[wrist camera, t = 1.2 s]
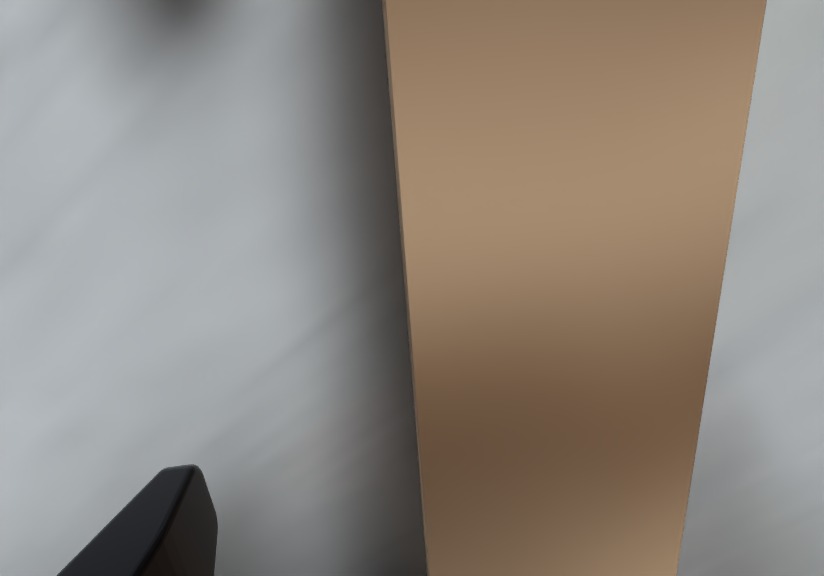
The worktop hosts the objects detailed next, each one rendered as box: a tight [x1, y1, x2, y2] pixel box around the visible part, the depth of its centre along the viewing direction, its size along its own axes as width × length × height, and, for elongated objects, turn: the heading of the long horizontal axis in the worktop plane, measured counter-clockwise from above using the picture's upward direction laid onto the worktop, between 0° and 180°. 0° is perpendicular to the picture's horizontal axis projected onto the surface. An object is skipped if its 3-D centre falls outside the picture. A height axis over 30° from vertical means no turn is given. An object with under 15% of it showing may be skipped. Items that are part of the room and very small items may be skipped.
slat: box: [382, 0, 767, 576], centre depth 11 cm, size 16×4×4 cm, turn 4°
